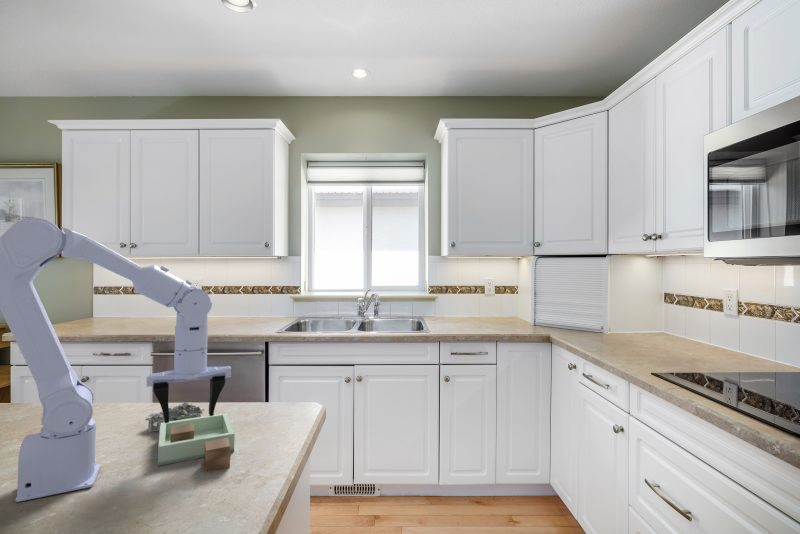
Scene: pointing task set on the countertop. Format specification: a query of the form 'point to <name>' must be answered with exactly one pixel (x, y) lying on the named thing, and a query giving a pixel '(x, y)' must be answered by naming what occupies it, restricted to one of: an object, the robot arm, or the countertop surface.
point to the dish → (194, 448)
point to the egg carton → (173, 415)
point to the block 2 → (217, 455)
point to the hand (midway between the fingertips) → (189, 417)
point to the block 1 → (182, 433)
